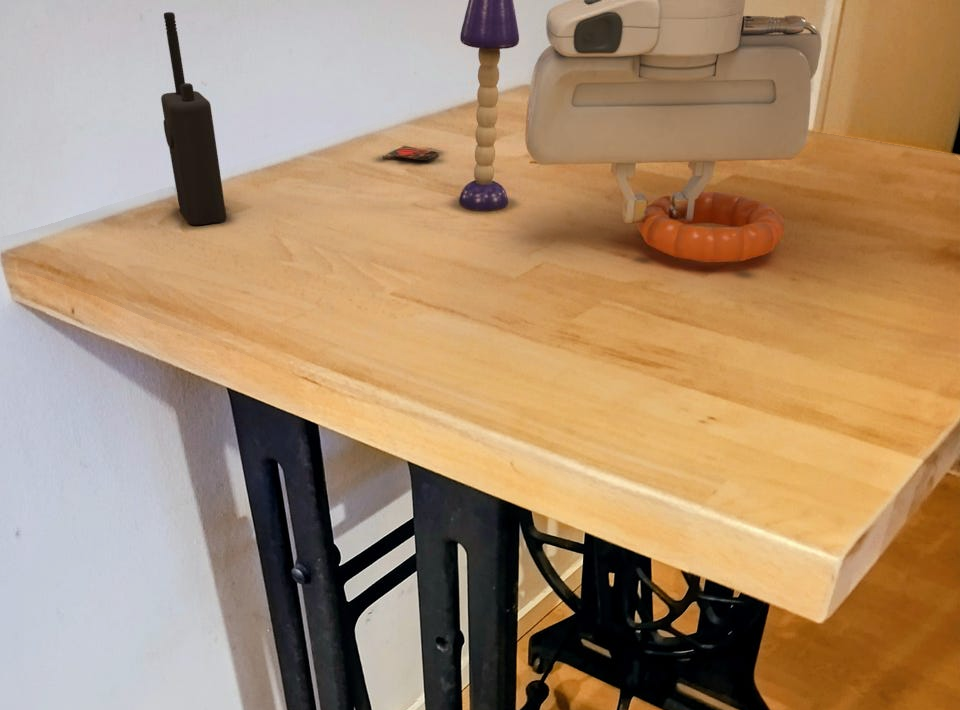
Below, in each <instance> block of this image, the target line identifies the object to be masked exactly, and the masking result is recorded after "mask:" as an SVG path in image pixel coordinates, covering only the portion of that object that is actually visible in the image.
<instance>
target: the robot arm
mask: <svg viewBox="0 0 960 710" xmlns="http://www.w3.org/2000/svg"><path fill="white" fill-rule="evenodd" d="M745 5H746V0H567V1H565V2H562V3H559V4H557V5H554V6H553V7H552V8H550V9H549V10H548V11H547V15H546V19H545V32H546V33H545V34H546V38H547V41H548V43H549V44H550V45H549V46H548V47H546V48H545V49H544V50H543V51H542V52H541V54H540V55H539V57H538V59H537V60H536V62H535V65H534V67H533V71H532V76H531V80H530V87H529V92H528V97H527V98H528V99H527V107H526V116H525V131H524V139H525V140H524V141H525V147H526V150H527V152H528V154H529V155H530V156H531V158H532V159H533V160H534V161H535V162H536V164H538V165H539V166H540V165H541V166H555V165H557V166H559V165H560V166H561V165H565V166H566V165H599V164H600V165H605V164H608V165H610V164H611V167H610V171H611V173H612V175H613V177H614V179H615V182H616V183H617V185H618V187H619V189H620V192H621V193H622V195H623V200H622V201H623V202H622V219H623V221H624V223H625V224H635V223H636V224H637V223H640V222H645V220H646V215H645V213H644V212H645V211H646V210H647V206H648V199H647V198H646V197H645V194H644V193H641V192H639V193H638V192H635V193H634V191H633V189H632V187H631V185H630V183H629V180H628V179H632V178H634V177H635V175H636V165H637V164H647V163H649V164H650V163H651V164H653V163H657V164H658V163H688V168H689V169H690V171H691V172H692V173H691V175H690V177H689V179H688V180H687V182H686V184H685V185H684V186H683V188H682V190H681V191H678V192H677V191H676V192H670V195H671V197H670V202H671V204H672V205H671V206H670V207H669V217H670V218H671V219H674V220H676V221H679V222H691V221H692V219H693V212H694V204H695V199H697V198H698V197H699V195H700V194H701V192H704V190H705V188H706V187H707V185H708V184H709V183H710V182H711V180H712V178H713V177H714V171H715V163H716V162H739V161H740V162H741V161H743V162H744V161H745V162H746V161H783V160H785V161H786V160H787V161H788V160H793V159H795V158H796V157H797V156H798V154H799V153H800V152H801V151H802V150H803V149H804V148H805V146H806V145H807V141H808V135H809V125H810V114H811V96H812V95H811V92H812V91H811V90H812V88H811V87H812V85H811V80H812V79H813V78H814V76H815V75H816V72H817V71H818V67H819V62H820V55H821V52H822V37H821V34H820V32H819V30H818V28H817V27H816V26H815V25H814V24H812V23H810V22H808V21H806V18H805V17H804V16H801V15H785V16H780V17H777V16H767V15H744V13H745ZM805 30H807V31H809V32H804V31H805ZM627 178H628V179H627Z"/></svg>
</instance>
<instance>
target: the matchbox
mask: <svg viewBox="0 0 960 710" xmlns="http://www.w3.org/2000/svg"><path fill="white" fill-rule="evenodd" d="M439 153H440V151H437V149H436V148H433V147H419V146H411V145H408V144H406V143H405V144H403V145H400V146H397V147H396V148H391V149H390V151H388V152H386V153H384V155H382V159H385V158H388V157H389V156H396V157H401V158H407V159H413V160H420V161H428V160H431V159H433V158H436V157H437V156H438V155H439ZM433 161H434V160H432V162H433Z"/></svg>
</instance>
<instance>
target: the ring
mask: <svg viewBox="0 0 960 710" xmlns="http://www.w3.org/2000/svg"><path fill="white" fill-rule="evenodd" d="M670 197H671V194H670V195H666V196H661V197H658V198H656V199H654V200H653V201H651V202H650V203H648V204H647V210H646V211H645V212H644V213H645V215H646V220H645V222H640V223H636V224H637V228H638V231H639V233H640V235H641V236H642V238H643V240H644V242H645V243H646V244H647V245H648V246H649V247H651V248H653V249H655V250H658V251H660V252H662V253H664V254H667V255H669V256H671V257H674V258H680V259H684V260H685V259H686V260H692V261H697V262H703V263H722V262H725V263H726V262H742V261H746V260H750V259H754V258H757V257H761V256H764V255H767V254H769V253H770V252H772V251H773V250H774V249H775V247H776V246H777V245H778V244H779V242H780V241H781V239H782V238H783V237H784V234H785V232H786V225H785V222H784V219H783V218H782V217H781V216H780V214H779V213H778V212H777V211H776V210H775V209H774V207H772V205H770V204H768V203H765V202H762V201H759V200H757V199H754V198H751V197H749V196H746V195H740V194H734V193H733V194H732V193H725V192H719V191H702V192H701V194H700V195H699V197H698V198H697V199H695V204H694V212H693V219H692V221H691V222H679V221H676V220H674V219H671V218H670V217H669V207H670V206H671V205H672V204H671V202H670ZM699 224H700V225H699ZM701 224H702V225H703V224H708V225H709V224H711V225H717V226H723V227H709V226H708V227H707V226H701Z"/></svg>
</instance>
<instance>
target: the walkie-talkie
mask: <svg viewBox="0 0 960 710" xmlns="http://www.w3.org/2000/svg"><path fill="white" fill-rule="evenodd" d="M163 19H164V24H165V30H166V31H165V32H166V38H167V44H168V51H169V56H170V63H171V69H172V76H173V83H174V89H175V92H167V93H166V92H165V93H162V95H161V98H160V101H161V106H162V113H163V118H164V119H163V130H164V135H165V136H164V137H165V141H166V143H167V146H168V149H169V154H170V155H169V156H170V161H171V166H172V172H173V173H172V174H173V178H174V184H175V191H176V196H177V202H178V207H179V212H180V214H181V215H182V216H183V218H184V219H185V220H186V221H187V223H188V224H190V225H191V226H202V225H211V224H217V223H223V222H224V221H226V220H227V210H226V206H225V198H224V190H223V183H222V177H221V170H220V169H221V168H220V162H219V156H218V149H217V142H216V140H217V139H216V133H215V126H214V120H213V112H212V105H211V102H210V101H209V100H208V99H207V98H205V96H204V95H202V94H201V92H199V91H196V90H194V86H193V84H192V83H187V82H186V80H185V79H186V78H185V73H184V68H183V60H182V53H181V47H180V40H179V35H178V28H177V22H176V16H175V12H172V11H167V12H164V13H163Z"/></svg>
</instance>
